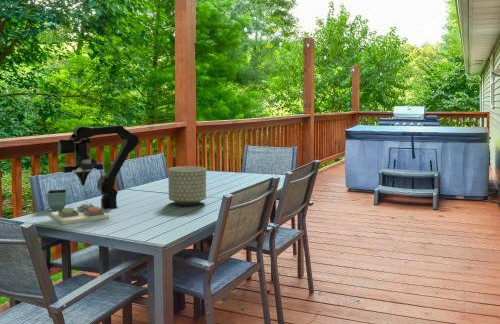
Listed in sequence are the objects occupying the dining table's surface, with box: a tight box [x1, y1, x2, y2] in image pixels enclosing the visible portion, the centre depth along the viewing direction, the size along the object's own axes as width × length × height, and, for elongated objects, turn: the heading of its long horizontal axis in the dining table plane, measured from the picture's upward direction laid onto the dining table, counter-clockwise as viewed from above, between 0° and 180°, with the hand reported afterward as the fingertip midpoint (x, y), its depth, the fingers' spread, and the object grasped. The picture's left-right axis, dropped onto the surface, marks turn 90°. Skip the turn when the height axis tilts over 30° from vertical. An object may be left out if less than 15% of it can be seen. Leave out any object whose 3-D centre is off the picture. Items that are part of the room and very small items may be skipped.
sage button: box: [61, 207, 74, 214], centre depth 227 cm, size 5×5×2 cm
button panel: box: [50, 204, 110, 225], centre depth 230 cm, size 20×20×3 cm
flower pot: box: [46, 189, 68, 212], centre depth 245 cm, size 9×9×9 cm
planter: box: [167, 165, 207, 206], centre depth 258 cm, size 19×19×18 cm
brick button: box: [88, 206, 100, 213], centre depth 229 cm, size 5×5×2 cm
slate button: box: [80, 202, 93, 209], centre depth 237 cm, size 5×5×2 cm
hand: (83, 185), depth 241 cm, fingers closed
